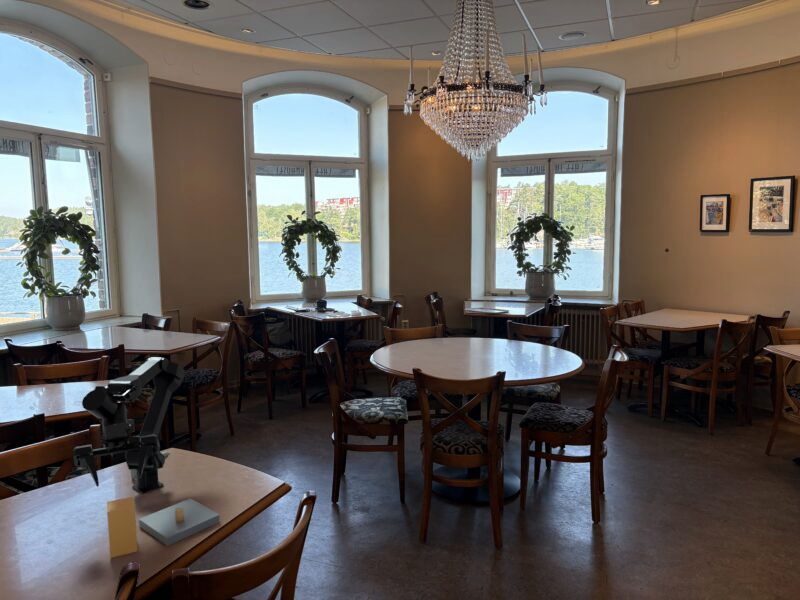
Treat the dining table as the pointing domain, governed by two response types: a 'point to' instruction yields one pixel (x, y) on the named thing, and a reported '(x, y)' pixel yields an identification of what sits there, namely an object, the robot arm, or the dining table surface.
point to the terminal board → (178, 529)
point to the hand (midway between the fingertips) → (119, 481)
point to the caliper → (133, 471)
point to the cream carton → (122, 526)
